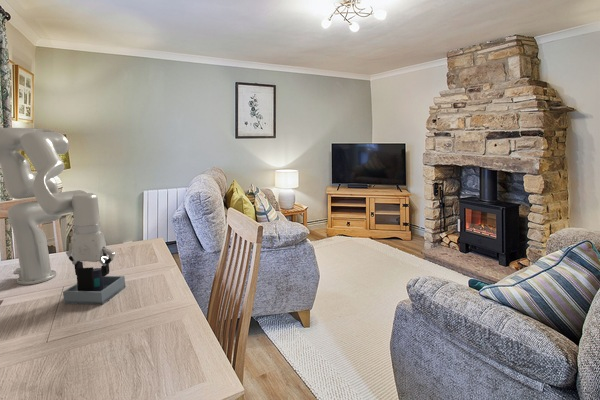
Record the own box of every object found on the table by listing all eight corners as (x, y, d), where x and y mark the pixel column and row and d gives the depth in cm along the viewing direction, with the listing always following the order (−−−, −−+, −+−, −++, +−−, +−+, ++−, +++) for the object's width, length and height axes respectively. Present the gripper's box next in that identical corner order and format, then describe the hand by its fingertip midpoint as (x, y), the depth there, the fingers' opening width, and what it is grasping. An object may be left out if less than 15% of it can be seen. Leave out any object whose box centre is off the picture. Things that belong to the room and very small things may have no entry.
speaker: (91, 298, 114) (88, 269, 114) (77, 297, 116) (75, 268, 115) (108, 290, 122) (106, 263, 121) (95, 290, 123) (92, 263, 122)
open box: (64, 303, 113) (62, 291, 113) (91, 286, 127) (90, 275, 126) (102, 304, 113) (101, 292, 112) (125, 287, 126) (124, 276, 125)
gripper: (55, 230, 112) (61, 277, 115) (105, 232, 111) (109, 280, 115) (72, 224, 119) (77, 269, 123) (118, 226, 119) (122, 271, 122)
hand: (92, 274), depth 119 cm, fingers open, 9 cm apart
